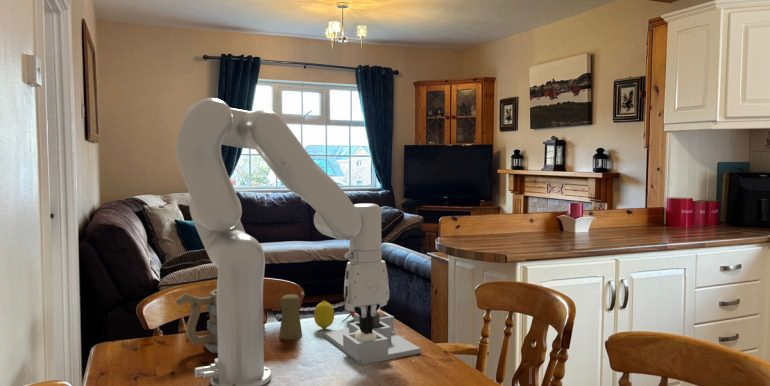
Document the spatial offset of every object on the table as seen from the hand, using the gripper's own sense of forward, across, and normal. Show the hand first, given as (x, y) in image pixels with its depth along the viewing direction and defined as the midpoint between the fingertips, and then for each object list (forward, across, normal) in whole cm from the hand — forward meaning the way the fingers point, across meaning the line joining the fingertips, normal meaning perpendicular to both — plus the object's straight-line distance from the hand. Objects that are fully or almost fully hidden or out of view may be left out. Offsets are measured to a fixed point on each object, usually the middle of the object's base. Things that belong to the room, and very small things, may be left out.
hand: (366, 332), depth 135 cm
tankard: (+6, -30, +24) cm, 38 cm away
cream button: (+4, 0, 0) cm, 4 cm away
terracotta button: (+4, +10, +15) cm, 18 cm away
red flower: (+6, +10, +28) cm, 30 cm away
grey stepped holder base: (+6, +5, +8) cm, 11 cm away
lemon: (+6, -1, +24) cm, 25 cm away
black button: (+2, +5, +8) cm, 9 cm away
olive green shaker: (+6, -11, +24) cm, 27 cm away
